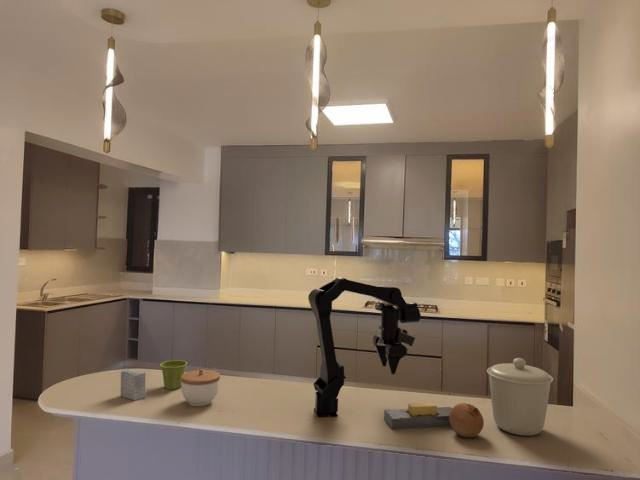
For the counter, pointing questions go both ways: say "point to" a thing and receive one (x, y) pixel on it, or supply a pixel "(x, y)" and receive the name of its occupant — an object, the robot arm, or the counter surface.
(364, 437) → the counter surface
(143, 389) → the medicine box
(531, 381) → the canister
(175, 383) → the plant pot
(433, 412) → the yellow rectangular block
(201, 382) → the lidded bowl
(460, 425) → the onion
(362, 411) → the counter surface
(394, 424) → the rail
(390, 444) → the counter surface
